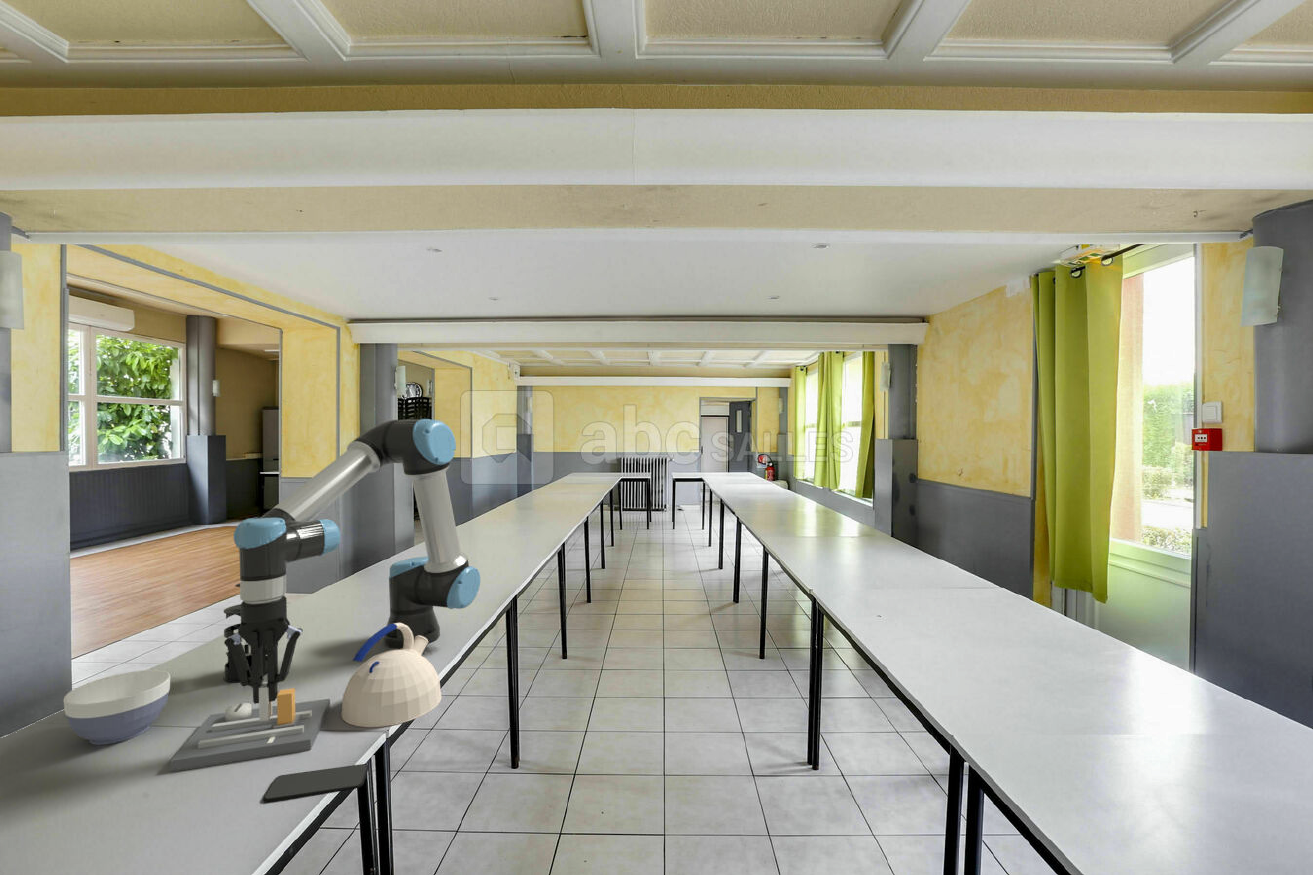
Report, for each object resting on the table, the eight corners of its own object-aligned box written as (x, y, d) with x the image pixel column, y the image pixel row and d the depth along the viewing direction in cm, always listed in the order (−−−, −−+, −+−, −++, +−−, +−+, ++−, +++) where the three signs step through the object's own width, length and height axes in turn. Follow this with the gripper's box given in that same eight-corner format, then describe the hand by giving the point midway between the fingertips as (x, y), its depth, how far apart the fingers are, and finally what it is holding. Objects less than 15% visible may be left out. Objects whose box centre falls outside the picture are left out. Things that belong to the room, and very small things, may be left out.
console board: (330, 707, 130) (329, 688, 130) (310, 749, 113) (310, 727, 112) (210, 724, 123) (210, 704, 123) (170, 771, 106) (170, 748, 105)
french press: (246, 684, 141) (245, 589, 141) (211, 683, 143) (209, 588, 142) (283, 665, 153) (281, 576, 153) (250, 663, 154) (248, 575, 154)
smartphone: (362, 785, 101) (260, 800, 96) (362, 790, 101) (260, 806, 96) (370, 762, 108) (275, 775, 103) (370, 767, 108) (275, 780, 103)
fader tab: (299, 719, 120) (299, 685, 120) (294, 730, 116) (293, 695, 116) (279, 722, 119) (278, 688, 119) (272, 733, 115) (272, 697, 115)
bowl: (80, 763, 108) (78, 711, 108) (53, 739, 117) (52, 691, 117) (184, 726, 122) (183, 680, 122) (154, 707, 130) (153, 664, 130)
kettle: (461, 691, 137) (460, 614, 137) (395, 735, 118) (393, 645, 117) (391, 680, 144) (390, 606, 144) (318, 720, 124) (316, 634, 124)
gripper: (306, 590, 121) (308, 704, 122) (231, 596, 117) (233, 714, 118) (296, 600, 114) (298, 721, 115) (217, 607, 110) (219, 732, 111)
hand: (265, 717), depth 116 cm, fingers closed
